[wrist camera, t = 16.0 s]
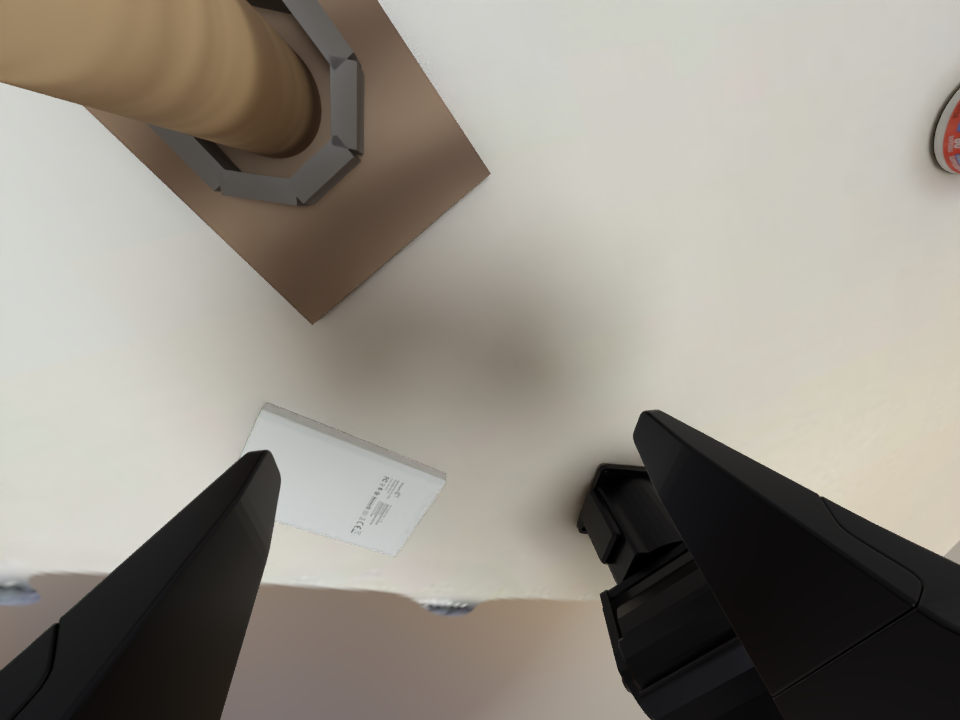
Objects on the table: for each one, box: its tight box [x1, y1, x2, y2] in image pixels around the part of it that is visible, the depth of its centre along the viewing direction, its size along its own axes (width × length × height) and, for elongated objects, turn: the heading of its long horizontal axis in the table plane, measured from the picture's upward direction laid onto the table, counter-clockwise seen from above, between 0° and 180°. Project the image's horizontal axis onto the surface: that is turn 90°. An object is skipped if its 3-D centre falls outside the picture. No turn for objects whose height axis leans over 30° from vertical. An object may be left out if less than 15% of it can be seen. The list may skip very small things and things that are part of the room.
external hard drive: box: [239, 403, 446, 557], centre depth 24 cm, size 2×8×12 cm
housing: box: [83, 0, 491, 325], centre depth 15 cm, size 16×12×2 cm
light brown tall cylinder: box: [0, 0, 321, 158], centre depth 9 cm, size 4×4×12 cm
